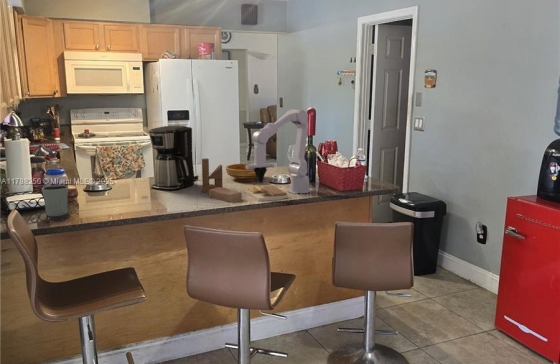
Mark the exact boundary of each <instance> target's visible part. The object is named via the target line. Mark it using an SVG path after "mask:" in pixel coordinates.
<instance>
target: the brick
mask: <svg viewBox="0 0 560 364" xmlns="http://www.w3.org/2000/svg"><path fill="white" fill-rule="evenodd" d="M242 194H243V193H242V192H241V191H237V190H230V189H227V188H225V187H223V188H222V187H217V188H214V189H210V190H209V192H208V197H209V198H211V199H214V200H218V201H223V202H226V203H227V202H228V203H235V202H238V201H242V199H243V195H242Z"/></svg>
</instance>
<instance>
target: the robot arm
mask: <svg viewBox="0 0 560 364" xmlns="http://www.w3.org/2000/svg"><path fill="white" fill-rule="evenodd" d="M308 119H309V114H308V113H307V111H306V110H304V109H294V108H291V109H289V110H287V111H285V113H284V114H283V115H282V116H281V117H279V119H277V120H276V121H275V122H267V124H266V125H265V126H264V127H263V128H260V129H259V130H257V131H255V132H254V133H253V134H252V136H251V140H252V142H253V145H254V148H253V150H254V152H253V153H254V154H253V155H254V162H253V163H249V164H250V165H246V169H254V171H255V173H256V176H257V178H256V179H257V182H258V183H263V181H264V178H265V175H266V173H267V168H273V169H274V168H275V163H273V162H271V163H270V162H269V163H267V158H266V157H267V143H268V142H269V139H270V138H271V137H273V136H274V135H275V134H276V133H278V129H280V128H281V127H283V126H284V125H286V124H288V123H289V122H291V123H292V124H294V125H295V127H296V128H297V129H296V139H295V145H294V154H293V158H291V159H290V163H289V165H288V168H287V169H288V172H289V174H290V175H289V176H290V189H288V190H287V191H288V193H290V194H293V195H299V194H298V193H300V194H309V193H308V192H310V177H309V176H308V175H307V174H308V162H307V161H306V159H305V154H306V148H307V141H308V140H307V139H308V131H309V120H308Z"/></svg>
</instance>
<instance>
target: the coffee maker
mask: <svg viewBox="0 0 560 364" xmlns="http://www.w3.org/2000/svg"><path fill="white" fill-rule="evenodd" d="M148 135H149V140H150V143H151V147H152V149H153V150H156V157H155V161H154V173H153V175H154V176H153V178H154V184H151V185H150V187H151V188H152V189H156V190H164V191H176V190H180V189H183V188H184V189H187V188H188V187H190V186H192V185H194V183H195V181H197V180H199V177H201V176H199V175H198V174H197V175H195V172H194V171H195V170H194V160H193V128H192V127H190V126H186V125H185V126H184V125H165V126H159V127H154V128H150V129H149V130H148Z"/></svg>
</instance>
